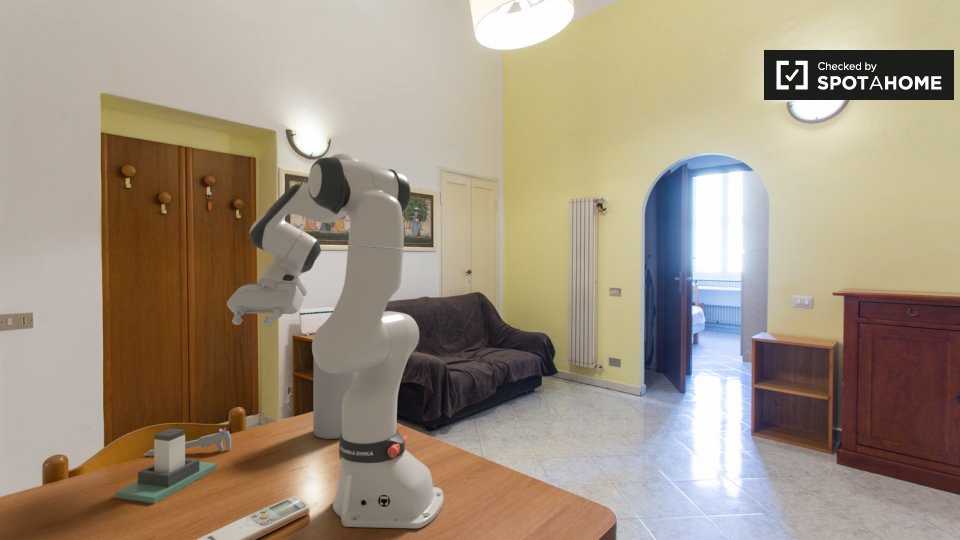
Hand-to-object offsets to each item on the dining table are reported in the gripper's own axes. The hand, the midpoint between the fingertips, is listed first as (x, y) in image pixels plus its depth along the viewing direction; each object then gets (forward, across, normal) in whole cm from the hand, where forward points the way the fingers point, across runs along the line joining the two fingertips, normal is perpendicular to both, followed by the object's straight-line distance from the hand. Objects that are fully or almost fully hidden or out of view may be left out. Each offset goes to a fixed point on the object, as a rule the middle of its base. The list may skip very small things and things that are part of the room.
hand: (251, 323), depth 116 cm
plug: (+35, -7, +10) cm, 37 cm away
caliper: (+26, -16, +21) cm, 38 cm away
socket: (+36, -7, +11) cm, 38 cm away
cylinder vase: (+11, +13, +37) cm, 41 cm away
